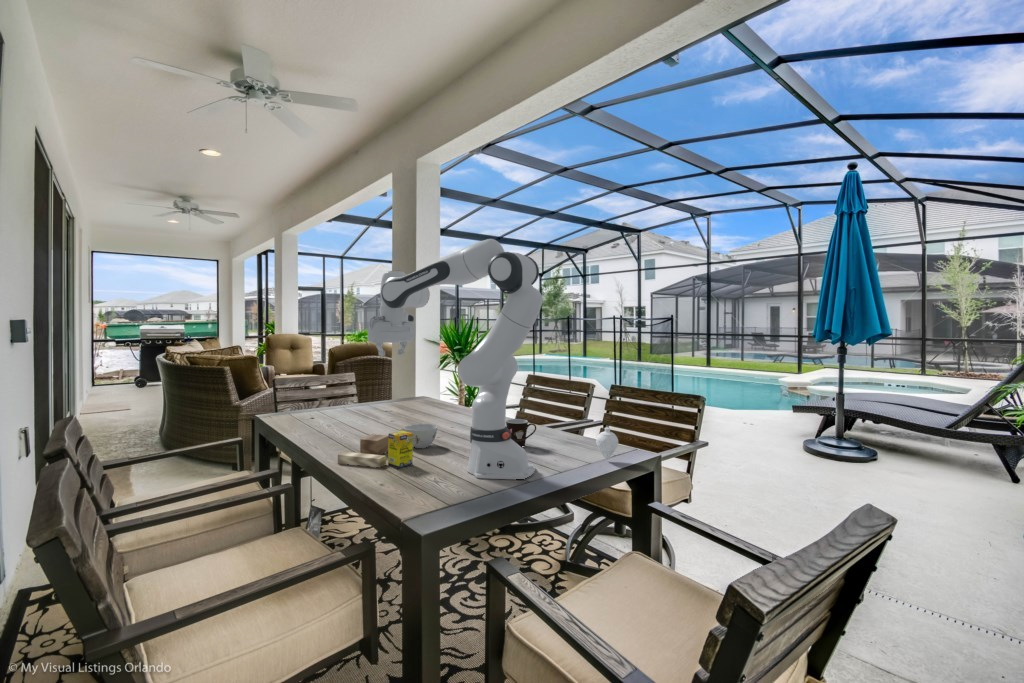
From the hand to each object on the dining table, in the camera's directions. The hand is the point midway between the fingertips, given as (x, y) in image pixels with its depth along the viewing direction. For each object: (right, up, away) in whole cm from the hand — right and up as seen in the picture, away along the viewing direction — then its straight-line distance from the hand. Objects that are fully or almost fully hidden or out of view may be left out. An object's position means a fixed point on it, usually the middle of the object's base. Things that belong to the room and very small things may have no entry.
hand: (391, 355), depth 167 cm
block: (-7, -36, +5) cm, 37 cm away
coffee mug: (+47, -37, +16) cm, 61 cm away
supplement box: (+5, -37, -9) cm, 39 cm away
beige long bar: (-8, -37, -9) cm, 39 cm away
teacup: (+7, -36, +14) cm, 40 cm away
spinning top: (+77, -38, -3) cm, 85 cm away
